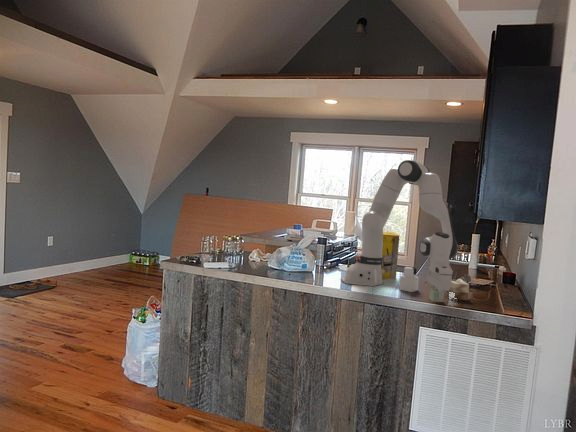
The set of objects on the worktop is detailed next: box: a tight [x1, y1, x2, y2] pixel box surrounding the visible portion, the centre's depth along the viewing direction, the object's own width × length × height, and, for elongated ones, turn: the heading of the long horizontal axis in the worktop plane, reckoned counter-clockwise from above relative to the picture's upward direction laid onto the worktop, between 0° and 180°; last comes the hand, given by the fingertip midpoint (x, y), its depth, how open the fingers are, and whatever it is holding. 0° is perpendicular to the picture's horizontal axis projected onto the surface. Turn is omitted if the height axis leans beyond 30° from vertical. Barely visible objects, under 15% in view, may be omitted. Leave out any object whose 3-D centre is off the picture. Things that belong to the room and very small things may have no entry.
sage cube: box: [428, 288, 445, 303], centre depth 224 cm, size 5×5×5 cm
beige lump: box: [447, 289, 469, 301], centre depth 232 cm, size 7×7×4 cm
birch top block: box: [450, 280, 470, 294], centre depth 231 cm, size 7×7×4 cm
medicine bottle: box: [398, 266, 420, 293], centre depth 242 cm, size 7×7×12 cm
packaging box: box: [381, 231, 400, 280], centre depth 276 cm, size 16×16×25 cm
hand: (436, 295), depth 224 cm, fingers open, 8 cm apart
